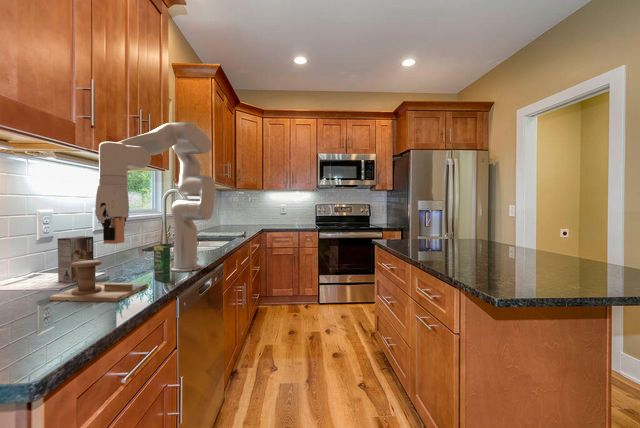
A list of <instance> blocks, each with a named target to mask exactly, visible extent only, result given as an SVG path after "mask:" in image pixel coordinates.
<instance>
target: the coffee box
mask: <svg viewBox="0 0 640 428" xmlns="http://www.w3.org/2000/svg"><path fill="white" fill-rule="evenodd" d="M94 257H95V256H94V236H85V235H82V236H78V235H77V236H71V237H69V236H68V237H61V238H60V237H59V238H58V237H57V276H58V277H57V278H58V279H57V281H58V282H59V281H62V283H75V281H76V282H78V267H72V266H71V264H72V263H74V262H79V261H88V260H94V259H95V258H94Z"/></svg>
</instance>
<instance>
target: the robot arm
mask: <svg viewBox="0 0 640 428" xmlns="http://www.w3.org/2000/svg"><path fill="white" fill-rule="evenodd" d="M170 148H172V149H173V151H174V152H175V154H176V156H177V159H178V160H179V164H180V168H179V169H180V170H179V177H178V179H179V180H178V185H177V186H178V188H177V189H178V193H180V195H181V196H184V197H199V198H179V199H177V200H175V201H174V202H173V203H172V205H171V214H172V218H173V265H170V272H178V273H180V272H182V273H183V272H193V271H192V270H194V271H197V269H198V270H200V269H201V265H200V264H198V262H199V257H198V228H197V226H196V224H195V223H194V221H208V220H210V219H211V218H212V216H213V213H214V207H215V195H216V182H215V180H214V178H213V177H212V176H210V175H205V174H204V175H203V174H201V170H202V169H201V167H202V166H201V163H200V162H199V159H198V158H197V157H196V155H206V154H208V153H209V152H210V151H211V149H212V141H211V139H210V137H209V136H208V135H207V134H206V133H205V132H204V131H202V130H201V129H200V128H199V127H198V126H196V125H195V124H193V123H191V122H186V121H182V122H181V121H180V122H175V121H174V122H167V123H164V124H162V125H160V126H158V127H156V128H155V129H152V130H151V131H149V132H146V133H143V134H139V135H135V136H133V137H129V138H125V139H123V140H120V141H117V142H114V141H103V142H101V143H99V145H98V169H99V170H98V173H99V176H98V177H99V178H98V179H99V180H98V182H99V183H98V186H97V190H96V195H95V211H94V212H95V216H96V219H97V220H98V222H100V224H101V227H102V230H103V235H102V236H103V241H104V240H115V228H113V224H114V218H124V227H125V226H126V221H127V220H128V219H129V217H130V215H129V214H130V213H129V212H130V211H129V210H130V203H129V201H130V200H129V192H128V184H129V183H128V175H129V174H128V169H129V170H131V169H132V170H137V169H138V170H139V169H145V168H147V167H148V166H149V165H150V164H151V162H152V157H151V156H156V155H159V154H163V153H164V152H166V151H168V150H169V149H170ZM108 220H110V222H109V221H108ZM199 268H200V269H199Z"/></svg>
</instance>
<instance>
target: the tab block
mask: <svg viewBox="0 0 640 428" xmlns="http://www.w3.org/2000/svg"><path fill="white" fill-rule="evenodd" d="M108 221H109V222H110V220H108ZM113 228H115V240H104V239H103V244H104V245H105V244H108V245H112V244H113V245H115V244H116V245H117V244H122V243H123V244H124V243H125V226H124V218H114V224H113Z"/></svg>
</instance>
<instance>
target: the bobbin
mask: <svg viewBox="0 0 640 428" xmlns="http://www.w3.org/2000/svg"><path fill="white" fill-rule="evenodd" d="M102 262H103V261H102V260H98V259H95V260H88V261H79V262H74V263H72V264H71V266H72V267H78V281H77V287H78V288H76V287H75V288H76V289H74V290H72V295H88V294H93V293H97V292H100V291H101V290H102V287H100V286H95V282H96V267H97V266H101V265H103V264H102Z"/></svg>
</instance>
